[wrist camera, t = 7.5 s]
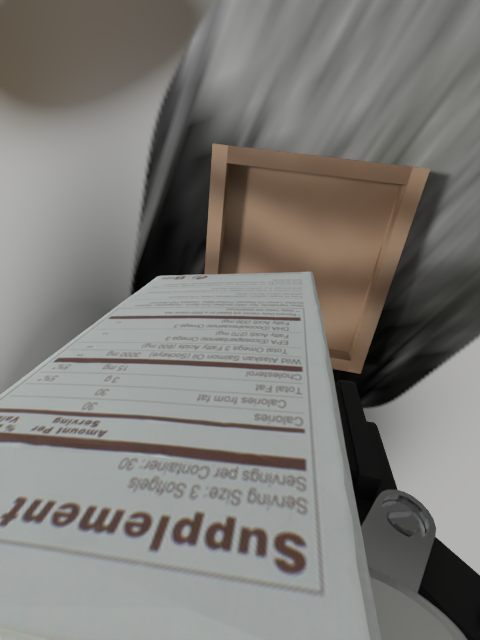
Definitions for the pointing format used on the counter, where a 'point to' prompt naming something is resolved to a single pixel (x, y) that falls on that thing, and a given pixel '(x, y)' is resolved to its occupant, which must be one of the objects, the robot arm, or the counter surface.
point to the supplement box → (184, 475)
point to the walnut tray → (315, 231)
